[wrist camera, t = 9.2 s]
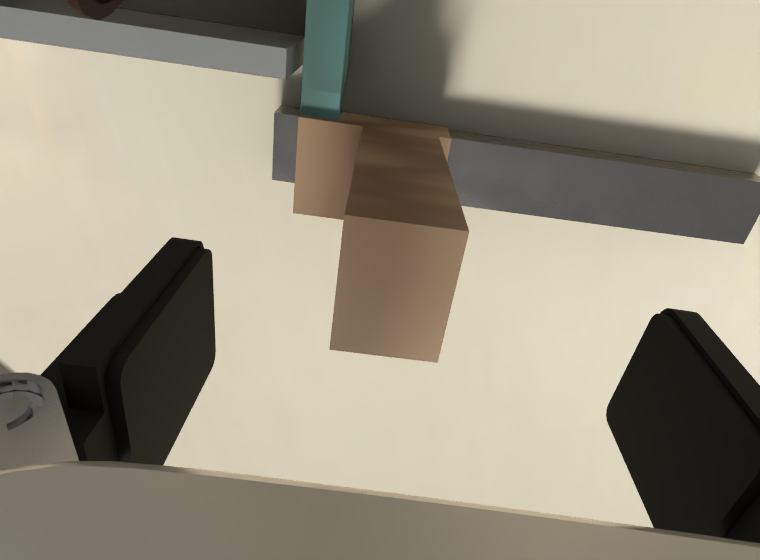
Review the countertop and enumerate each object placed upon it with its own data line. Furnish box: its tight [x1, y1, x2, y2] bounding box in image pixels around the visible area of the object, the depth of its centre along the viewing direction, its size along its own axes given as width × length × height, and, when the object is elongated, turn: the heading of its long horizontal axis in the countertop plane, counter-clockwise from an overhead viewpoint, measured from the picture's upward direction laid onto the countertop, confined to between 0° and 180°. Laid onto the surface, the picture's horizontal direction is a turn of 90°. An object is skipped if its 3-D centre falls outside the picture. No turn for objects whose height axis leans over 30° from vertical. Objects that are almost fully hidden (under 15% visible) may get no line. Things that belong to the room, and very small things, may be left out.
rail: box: [272, 106, 760, 244], centre depth 24 cm, size 22×3×2 cm, turn 82°
